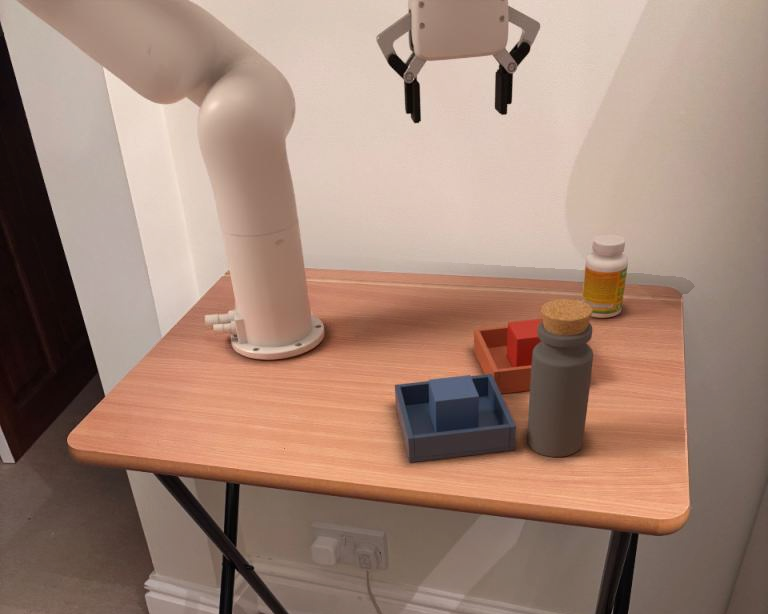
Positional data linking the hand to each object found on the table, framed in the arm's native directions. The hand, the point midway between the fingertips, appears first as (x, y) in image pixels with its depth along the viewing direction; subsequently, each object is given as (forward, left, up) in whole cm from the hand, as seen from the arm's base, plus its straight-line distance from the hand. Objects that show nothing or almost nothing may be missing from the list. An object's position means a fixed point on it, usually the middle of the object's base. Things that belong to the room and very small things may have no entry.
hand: (458, 116), depth 87 cm
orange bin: (+6, -11, -26) cm, 29 cm away
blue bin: (-5, -22, -26) cm, 35 cm away
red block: (+7, -11, -26) cm, 29 cm away
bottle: (+5, -27, -26) cm, 38 cm away
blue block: (-5, -23, -26) cm, 35 cm away
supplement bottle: (+20, +2, -26) cm, 33 cm away
